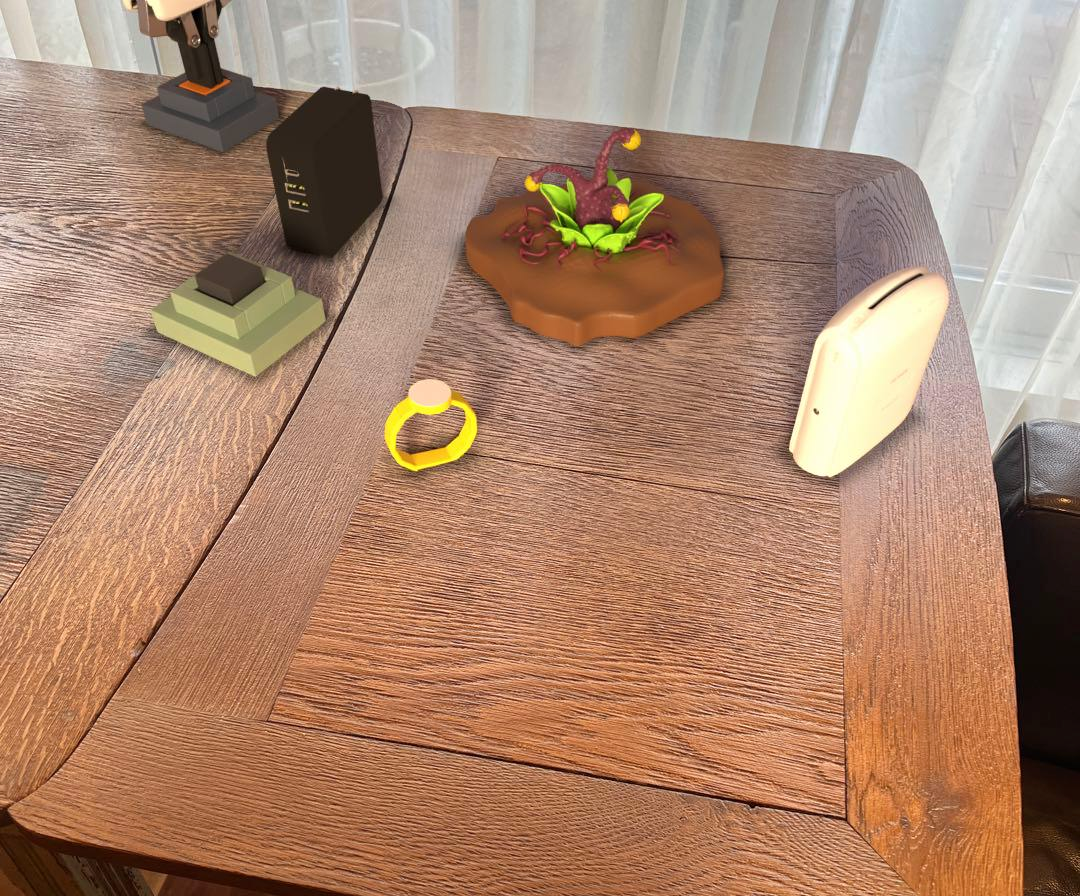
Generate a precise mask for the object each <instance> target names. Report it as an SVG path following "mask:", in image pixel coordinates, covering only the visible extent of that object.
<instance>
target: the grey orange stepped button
mask: <svg viewBox="0 0 1080 896" xmlns="http://www.w3.org/2000/svg"><path fill="white" fill-rule="evenodd" d="M221 71H222V75H223V78H225V79H228V80H230V82H229V83H228V84H226V85H224V86H222V87H220V88H219V89H217V90H215V91H213V92H211V93H209V94H208V95H206V96H204V95H201V94H198V93H195V92H192V91H189V90H186V89H183V88H180V87H179V85H180V84H182V83H184V82H186V81H188V79H187V76H186V73H185V72H183V73H180V74H179V75H177V76H175V77H173V78H172V79H170V80H167V81H166V82H164V83H161V84H159V85H158V86H156V91H157V96H154V97H153V98H151V99H148V100H147V101H145V102H143V103H142V104H141V108H142V109H141V110H142V112H143V115H144V119H145V121H146V125H147V126H150V127H152V128H156V129H158V130H161V131H163V132H166V133H169V134H171V135H175V136H177V137H179V138H183V139H185V140H189V141H191V142H194V143H196V144H200V145H202V146H205V147H208V148H211V149H213V150H216V151H219V152H221V153H225V152H226V151H227V150H229V149H230V148H233V147H234V146H235V145H237V144H239V143H241V142H242V141H244V140H246V139H247V138H249V137H250V136H252V135H254V134H255V133H257V132H259V131H261V130H262V129H264V128H265V127H267V126H269V125H271V124H272V123H274V122H276V121H277V120H279V119H280V113H279V108H278V102H277V98H276V97H274V96H271V95H268V94H266V93H262V92H259V91H256V90H255V86H254V82H253V78H252V77H250V76H246V75H243V74H241V73H238V72H235V71H232V70H228V69H226V68H222V67H221Z"/></svg>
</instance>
